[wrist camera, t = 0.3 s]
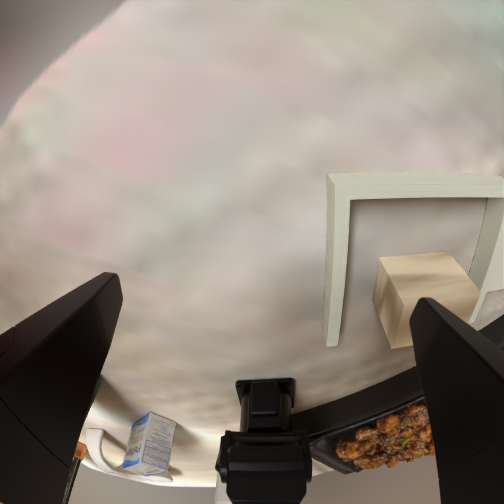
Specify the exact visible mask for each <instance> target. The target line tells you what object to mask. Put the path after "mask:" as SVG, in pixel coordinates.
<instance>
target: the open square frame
mask: <svg viewBox="0 0 504 504" xmlns="http://www.w3.org/2000/svg"><path fill="white" fill-rule="evenodd" d="M420 197H488V201H487V206H486V211H485V216H484V220H483V224H482V229H481V233H480V237H479V241H478V244H477V248H476V252H475V255H474V259H473V262H472V265H471V269H470V272H469V275H468V277H469V278H470V279H471V281H472V282H473V283H474V284H475V286H476V287H477V288H478V290H479V291H480V292H481V294H480V296H479V299H478V301H477V304H476V306H475V309H474V311H473V314H472V316H471V318H470V320H469V323H468V324H470V323H474V321H475V319H476V316H477V314H478V312H479V309H480V307H481V305H482V302H483V300H484V297H485V295H486V292H487V290H488V287H489V284H490V282H491V279H492V276H493V273H494V270H495V268H496V265H497V262H498V258H499V255H500V252H501V249H502V246H503V242H504V178H503V177H501V176H499V175H485V174H467V173H443V172H350V173H327V247H326V276H325V296H324V312H323V332H324V337H325V342H326V347H330V346H337V345H338V338H339V331H340V323H341V315H342V306H343V296H344V287H345V276H346V264H347V251H348V235H349V216H350V200H356V199H381V198H420Z"/></svg>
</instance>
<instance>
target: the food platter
mask: <svg viewBox="0 0 504 504" xmlns="http://www.w3.org/2000/svg"><path fill="white" fill-rule="evenodd" d="M478 332H479V333H481V334H482V335H483V336H484V337H486V338H487V339H488V340H490V341H491V342H492V343H493V344H495V345H496V346H497V347H498V348H500V349H501V350H502V351H504V314H503V315H502V316H500V317H499V318H498V319H496V320H495V321H493V322H492V323H490V324H489V325H487V326H485V327H484V328H482V329H481V330H479V331H478ZM302 430H307V432H308V439H309V445H310V451H311V458H313V459H315V460H317V461H319V462H321V463H323V464H325V465H327V466H329V467H331V468H333V469H335V470H337V471H339V472H341V473H343V474H348V473H352V472H359V471H361V470H363V469H370V468H378V467H379V466H381V465H382V464H383V465H387V466H388V467H394V466H395V465H396V464H397V463H398V462H400V461H407V463H410V462H411V461H413V458H414V459H416V458H420V457H421V456H423V455H425V456H433V455H435V450H434V443H433V438H432V432H431V427H430V422H429V417H428V412H427V407H426V402H425V398H424V394H423V389H422V385H421V381H420V377H419V373H418V369H417V366H415V367H413V368H411V369H409V370H407V371H404V372H402V373H400V374H398V375H396V376H394V377H391V378H389V379H387V380H385V381H383V382H380V383H378V384H376V385H373V386H371V387H368V388H366V389H364V390H361V391H359V392H356V393H354V394H351V395H348V396H346V397H343V398H340V399H338V400H335V401H332V402H329V403H327V404H324V405H321V406H318V407H315V408H312V409H309V410H306V411H303V412H299V413H296V414H293V415H292V431H302Z"/></svg>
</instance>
